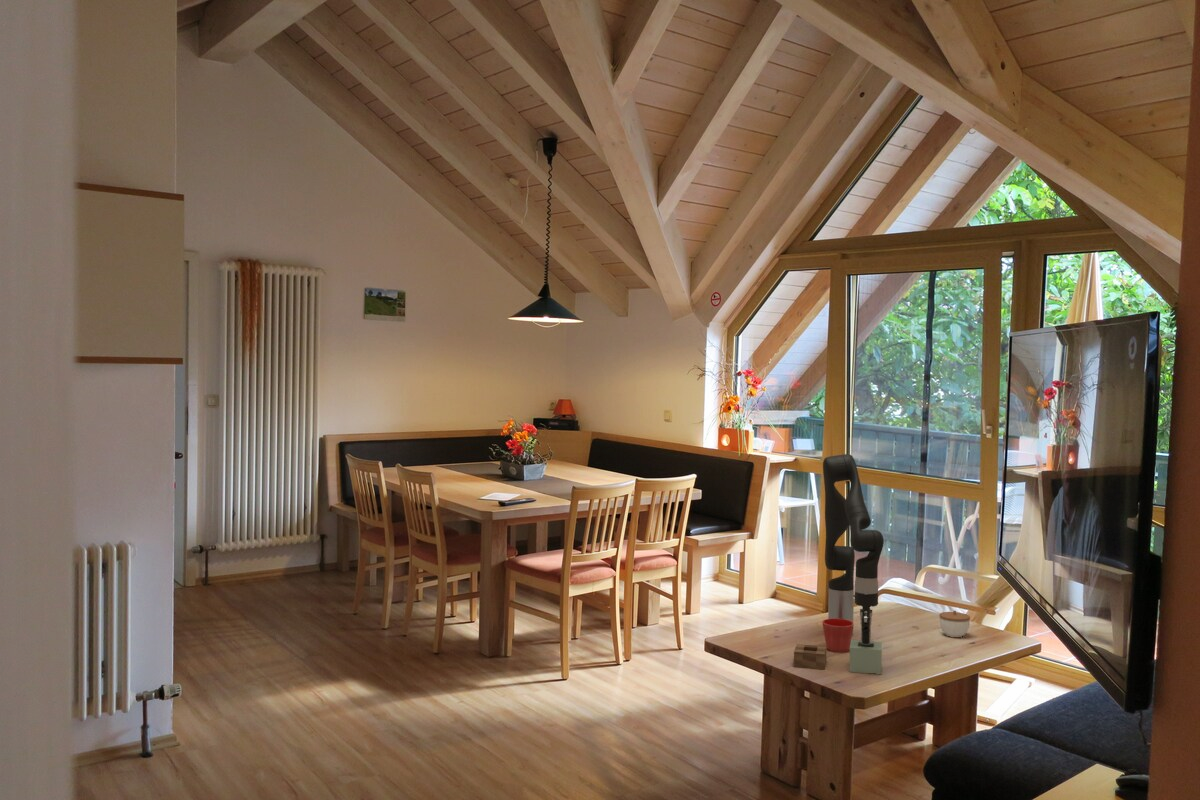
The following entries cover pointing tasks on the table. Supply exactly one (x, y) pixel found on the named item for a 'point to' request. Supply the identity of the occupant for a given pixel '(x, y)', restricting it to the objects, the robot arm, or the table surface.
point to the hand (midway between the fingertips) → (865, 641)
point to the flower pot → (838, 634)
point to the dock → (865, 657)
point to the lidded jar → (954, 623)
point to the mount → (810, 656)
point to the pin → (869, 638)
